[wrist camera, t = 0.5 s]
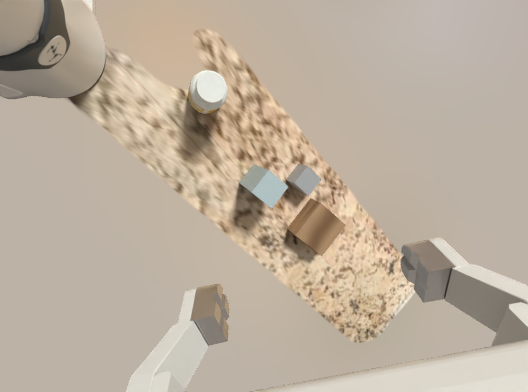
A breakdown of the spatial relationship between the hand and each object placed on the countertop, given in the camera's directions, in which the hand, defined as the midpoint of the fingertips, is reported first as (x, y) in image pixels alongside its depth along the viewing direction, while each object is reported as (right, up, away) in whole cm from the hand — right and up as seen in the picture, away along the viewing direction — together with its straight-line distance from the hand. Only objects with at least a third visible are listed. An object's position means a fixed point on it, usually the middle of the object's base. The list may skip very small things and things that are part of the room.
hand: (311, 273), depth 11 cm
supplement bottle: (-12, +20, +32) cm, 39 cm away
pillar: (-4, +6, +37) cm, 38 cm away
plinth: (+8, -3, +43) cm, 44 cm away
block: (+5, +7, +40) cm, 41 cm away
